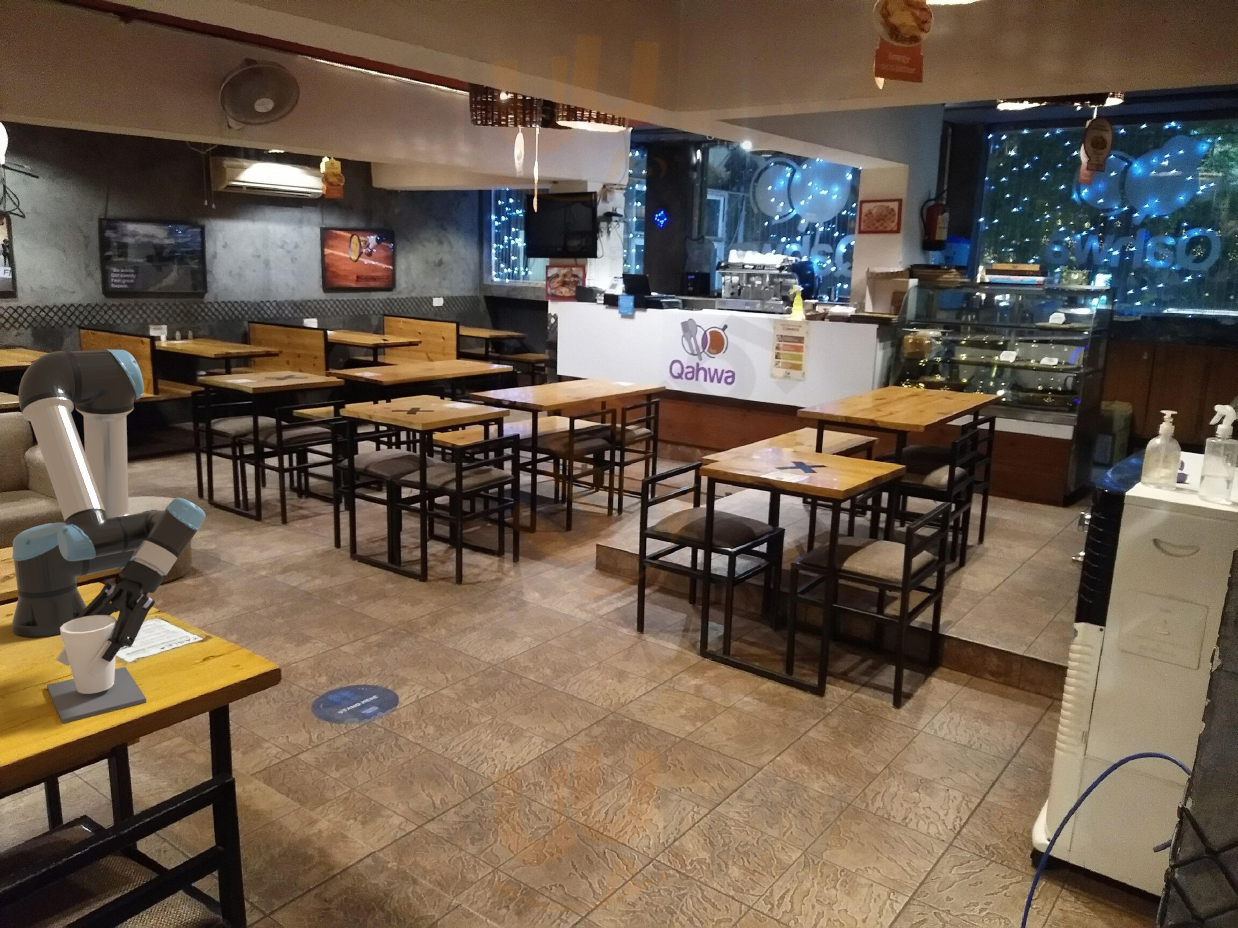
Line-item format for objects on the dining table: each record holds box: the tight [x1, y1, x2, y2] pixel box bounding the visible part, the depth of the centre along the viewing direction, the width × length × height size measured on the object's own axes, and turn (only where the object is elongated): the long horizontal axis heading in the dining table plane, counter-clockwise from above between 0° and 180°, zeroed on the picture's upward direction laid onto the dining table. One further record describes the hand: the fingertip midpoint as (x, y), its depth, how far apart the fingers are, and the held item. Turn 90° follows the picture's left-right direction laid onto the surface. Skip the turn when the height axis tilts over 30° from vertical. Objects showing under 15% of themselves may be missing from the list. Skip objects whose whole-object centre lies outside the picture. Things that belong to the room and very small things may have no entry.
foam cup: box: [60, 615, 117, 694], centre depth 175 cm, size 10×9×13 cm
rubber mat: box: [46, 666, 147, 724], centre depth 177 cm, size 18×14×1 cm
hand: (76, 668), depth 173 cm, fingers closed on foam cup, 9 cm apart
